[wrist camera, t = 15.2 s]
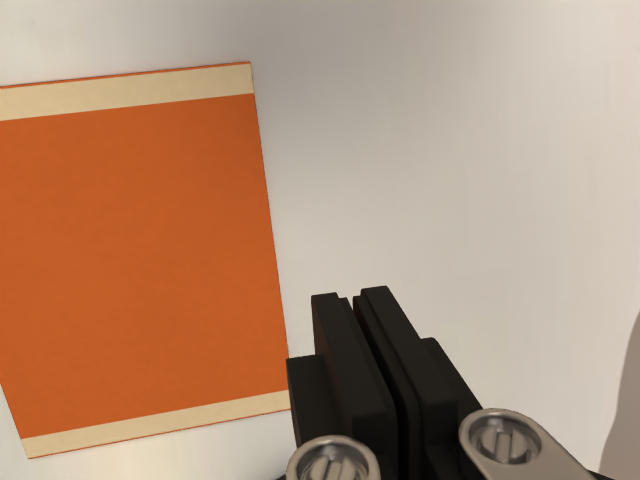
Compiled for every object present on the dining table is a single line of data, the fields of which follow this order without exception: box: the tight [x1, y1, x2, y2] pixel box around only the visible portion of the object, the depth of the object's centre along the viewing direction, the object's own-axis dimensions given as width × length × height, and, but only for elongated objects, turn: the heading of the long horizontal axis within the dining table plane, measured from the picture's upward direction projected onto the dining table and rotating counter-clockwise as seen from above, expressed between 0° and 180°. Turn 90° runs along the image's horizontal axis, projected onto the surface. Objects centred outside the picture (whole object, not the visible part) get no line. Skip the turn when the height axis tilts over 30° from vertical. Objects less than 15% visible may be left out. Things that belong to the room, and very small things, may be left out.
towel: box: [0, 61, 291, 459], centre depth 36 cm, size 26×20×1 cm
